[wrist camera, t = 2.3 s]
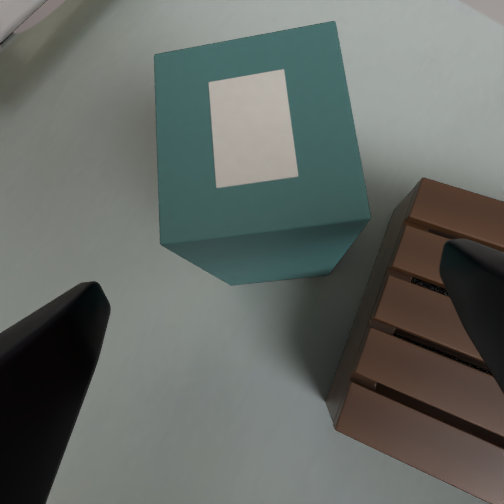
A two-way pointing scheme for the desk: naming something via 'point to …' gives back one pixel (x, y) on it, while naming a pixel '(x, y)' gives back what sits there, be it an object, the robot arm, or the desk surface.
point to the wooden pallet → (424, 351)
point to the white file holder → (15, 14)
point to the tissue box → (259, 156)
